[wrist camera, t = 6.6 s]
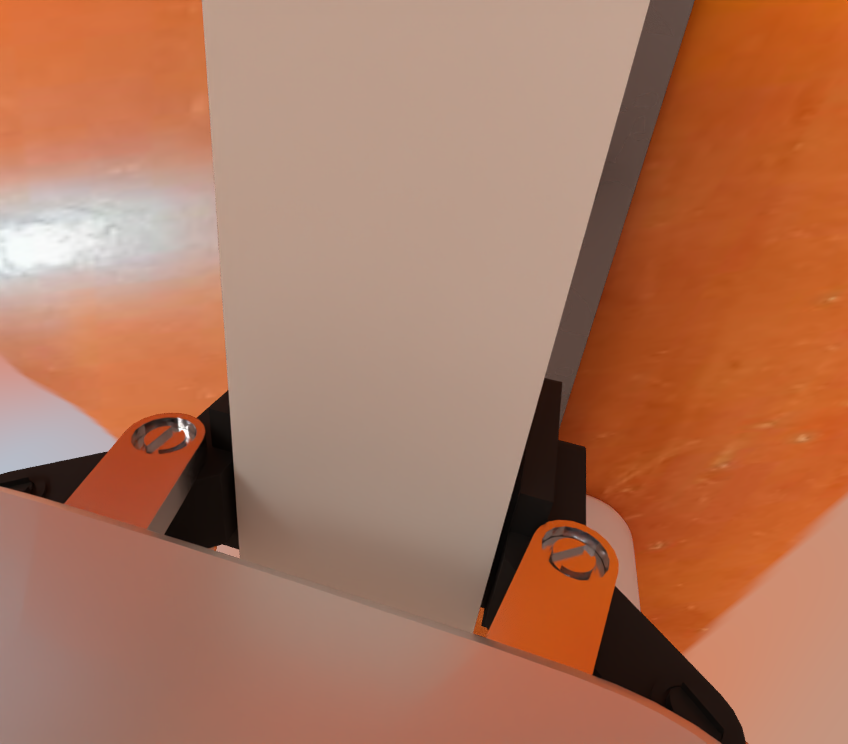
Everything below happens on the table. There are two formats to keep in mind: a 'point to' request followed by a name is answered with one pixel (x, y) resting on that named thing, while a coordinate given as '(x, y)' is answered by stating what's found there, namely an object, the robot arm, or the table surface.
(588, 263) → the grey base board
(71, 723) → the robot arm
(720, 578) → the table surface
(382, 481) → the white peg bar
